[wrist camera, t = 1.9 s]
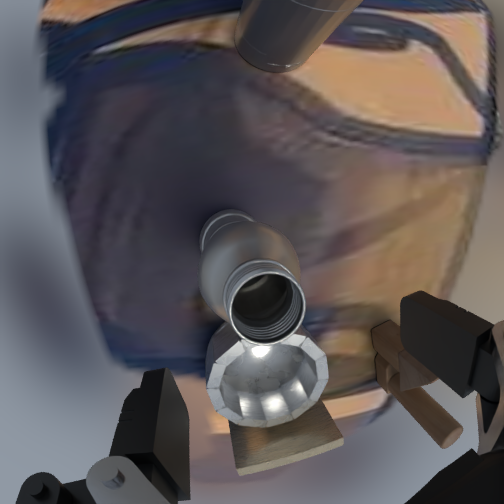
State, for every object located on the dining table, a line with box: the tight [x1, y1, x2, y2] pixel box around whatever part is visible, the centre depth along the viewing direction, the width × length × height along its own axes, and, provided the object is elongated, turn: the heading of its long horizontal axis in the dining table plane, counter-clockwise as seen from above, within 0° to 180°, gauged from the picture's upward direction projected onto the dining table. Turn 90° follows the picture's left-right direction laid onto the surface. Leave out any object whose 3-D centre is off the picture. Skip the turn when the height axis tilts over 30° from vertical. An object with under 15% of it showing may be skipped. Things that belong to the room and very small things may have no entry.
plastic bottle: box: [197, 209, 306, 346], centre depth 23 cm, size 6×7×20 cm
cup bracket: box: [205, 321, 343, 476], centre depth 30 cm, size 16×12×12 cm
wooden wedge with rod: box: [371, 320, 463, 449], centre depth 31 cm, size 4×11×18 cm, turn 17°
